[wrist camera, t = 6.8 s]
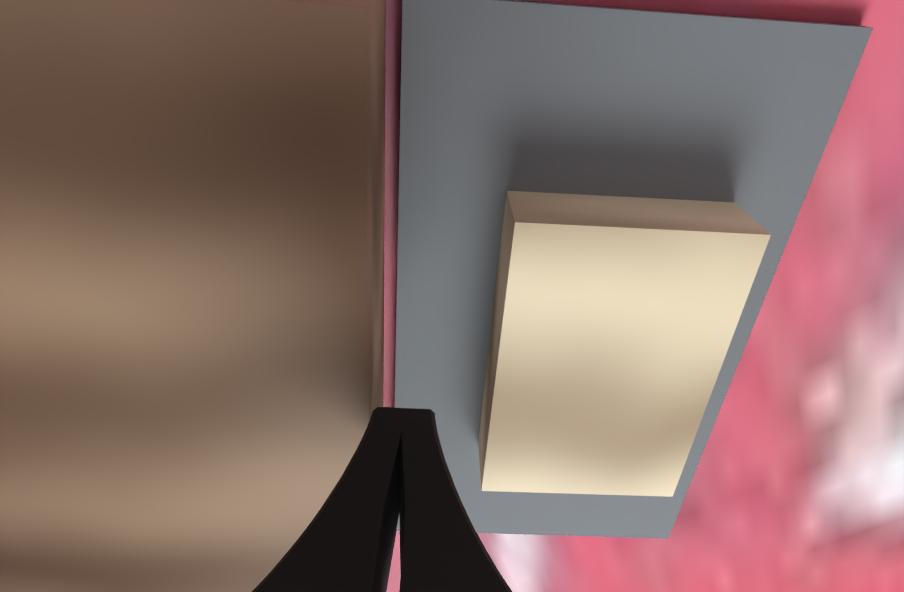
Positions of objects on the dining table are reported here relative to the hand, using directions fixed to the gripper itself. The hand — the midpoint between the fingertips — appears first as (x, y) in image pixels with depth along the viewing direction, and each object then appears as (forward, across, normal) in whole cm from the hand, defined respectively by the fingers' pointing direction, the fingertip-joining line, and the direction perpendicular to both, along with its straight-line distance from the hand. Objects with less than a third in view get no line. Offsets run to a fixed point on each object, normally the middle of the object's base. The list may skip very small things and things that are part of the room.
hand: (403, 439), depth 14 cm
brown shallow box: (+5, +7, 0) cm, 8 cm away
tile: (+2, -5, 0) cm, 6 cm away
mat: (+5, -5, 0) cm, 7 cm away
